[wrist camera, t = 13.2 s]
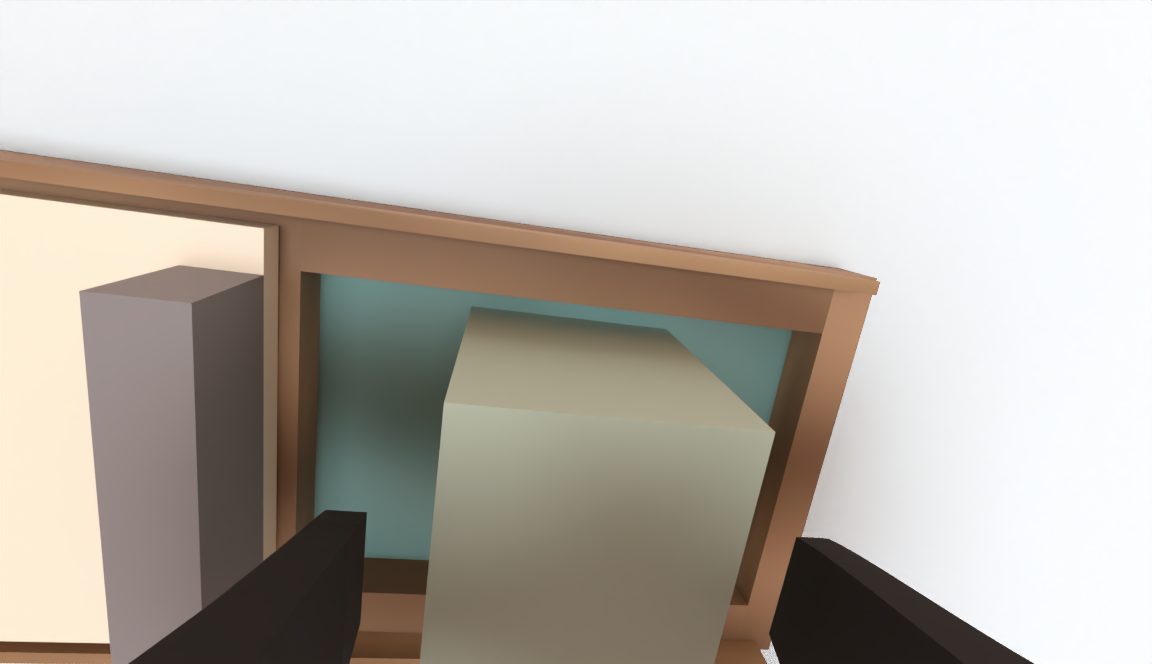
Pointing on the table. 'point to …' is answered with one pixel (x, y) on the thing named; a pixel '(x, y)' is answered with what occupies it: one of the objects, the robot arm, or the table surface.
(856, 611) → the robot arm
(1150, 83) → the table surface
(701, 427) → the sage block
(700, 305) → the board
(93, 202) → the lid
